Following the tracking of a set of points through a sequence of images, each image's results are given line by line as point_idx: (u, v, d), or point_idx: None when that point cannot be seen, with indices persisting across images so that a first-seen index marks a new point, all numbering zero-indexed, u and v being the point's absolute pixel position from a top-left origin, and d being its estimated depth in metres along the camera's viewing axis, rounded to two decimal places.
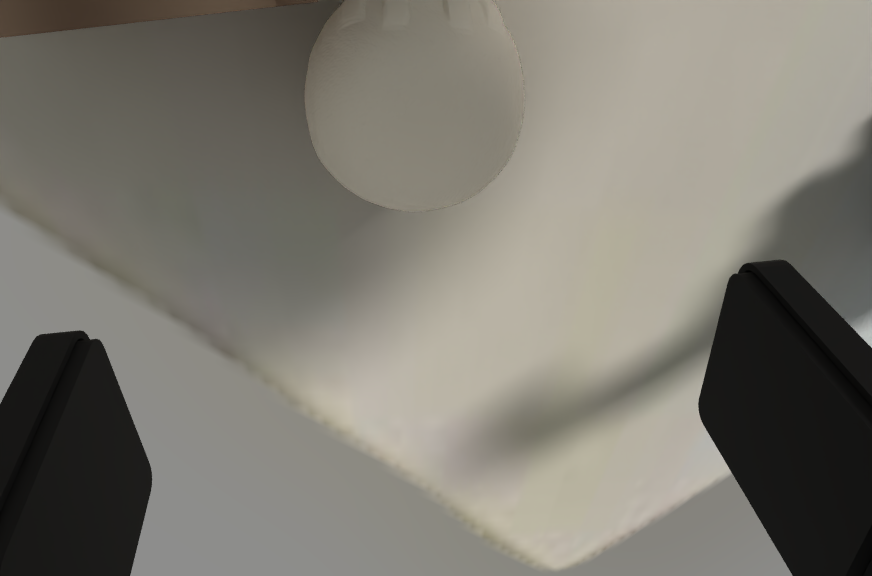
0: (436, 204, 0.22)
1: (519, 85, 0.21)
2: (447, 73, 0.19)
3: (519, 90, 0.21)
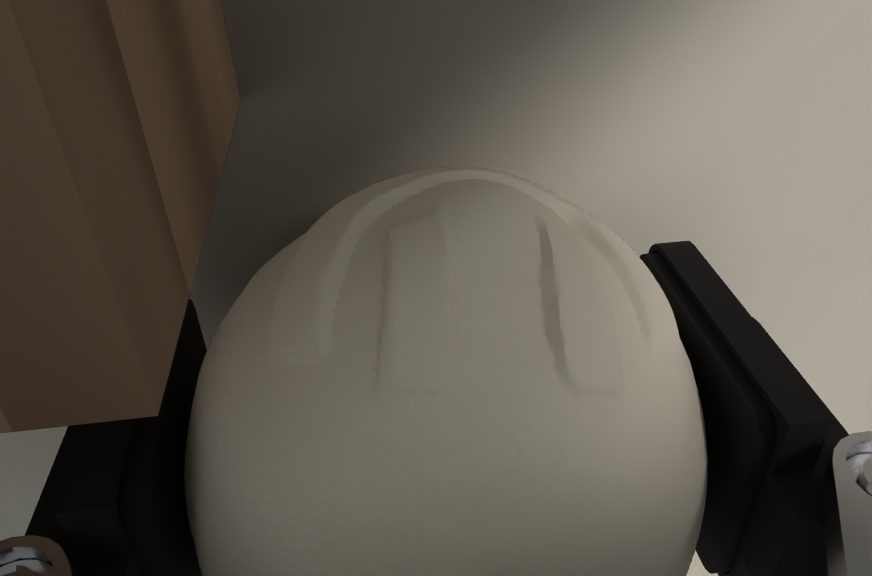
0: None
1: (706, 478, 0.09)
2: (557, 539, 0.07)
3: (705, 489, 0.09)
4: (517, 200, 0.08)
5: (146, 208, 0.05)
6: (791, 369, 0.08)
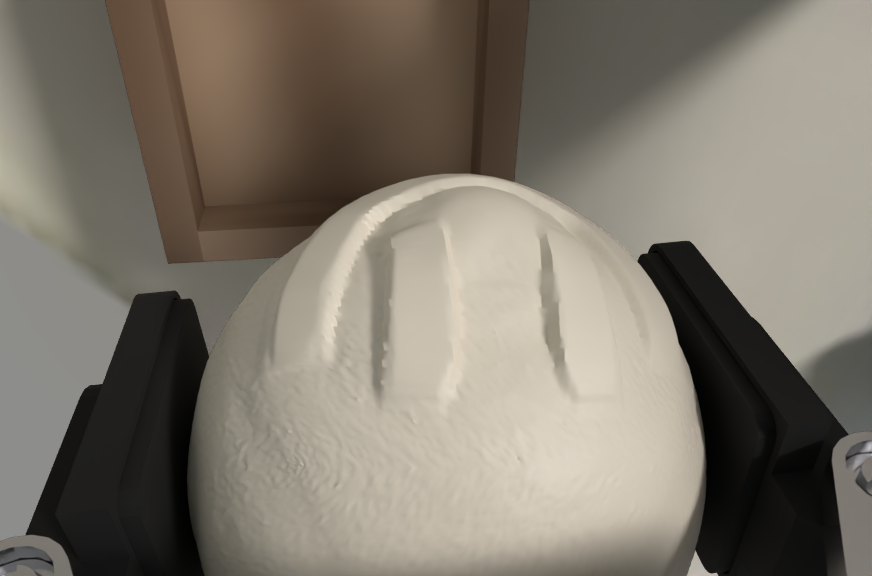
0: None
1: (705, 482, 0.09)
2: (558, 545, 0.07)
3: (704, 493, 0.09)
4: (517, 207, 0.08)
5: None
6: (791, 369, 0.08)
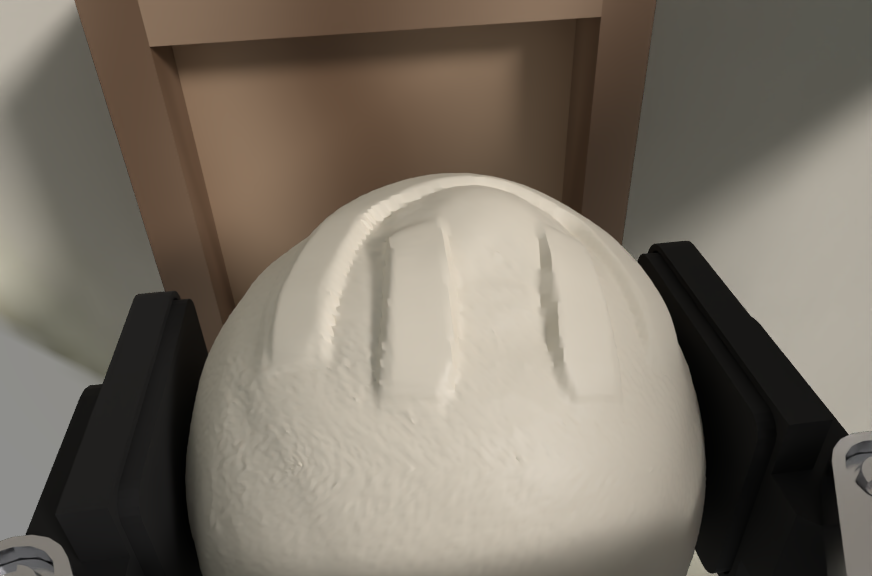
0: None
1: (704, 483, 0.09)
2: (556, 544, 0.07)
3: (704, 494, 0.09)
4: (516, 207, 0.08)
5: None
6: (790, 369, 0.08)
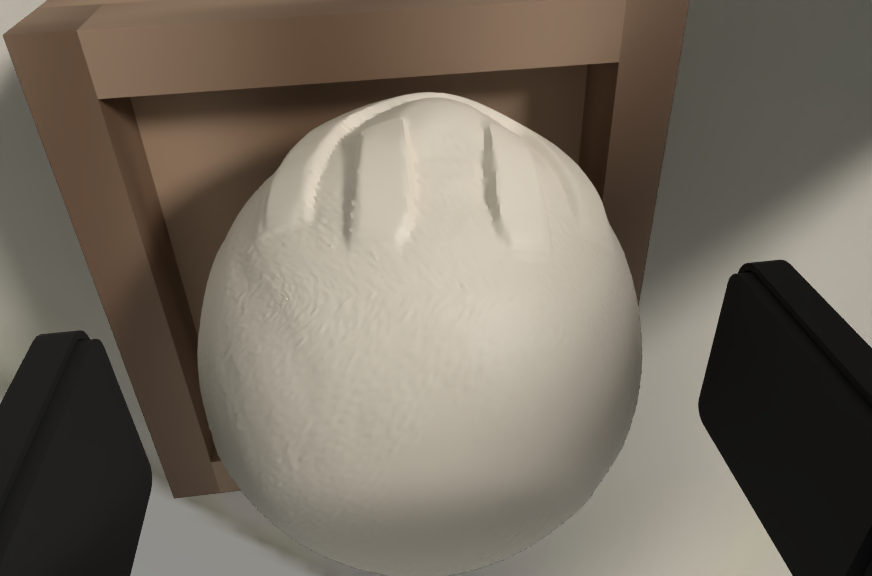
0: (460, 572, 0.11)
1: (638, 345, 0.10)
2: (495, 357, 0.08)
3: (638, 355, 0.10)
4: (467, 108, 0.10)
5: None
6: None
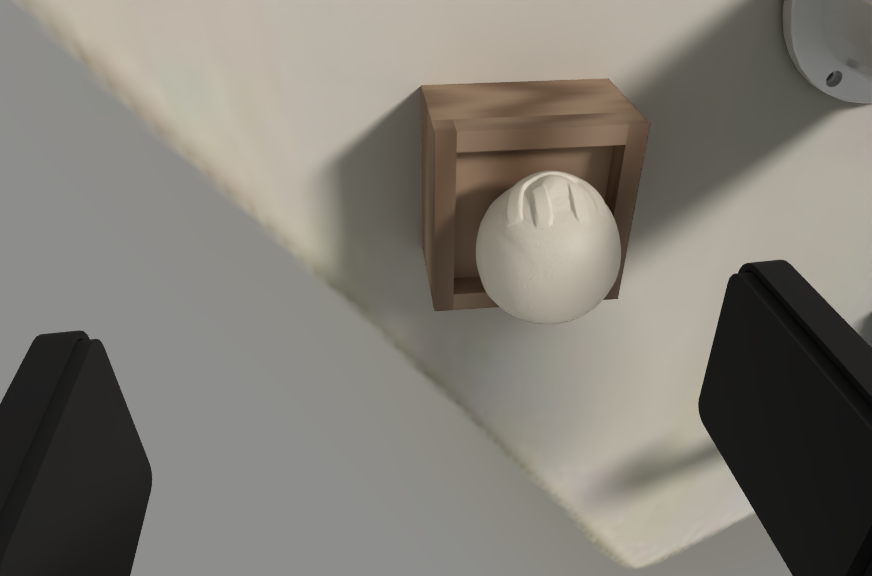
0: None
1: (619, 245, 0.33)
2: (578, 253, 0.31)
3: (619, 248, 0.33)
4: (561, 179, 0.32)
5: None
6: None
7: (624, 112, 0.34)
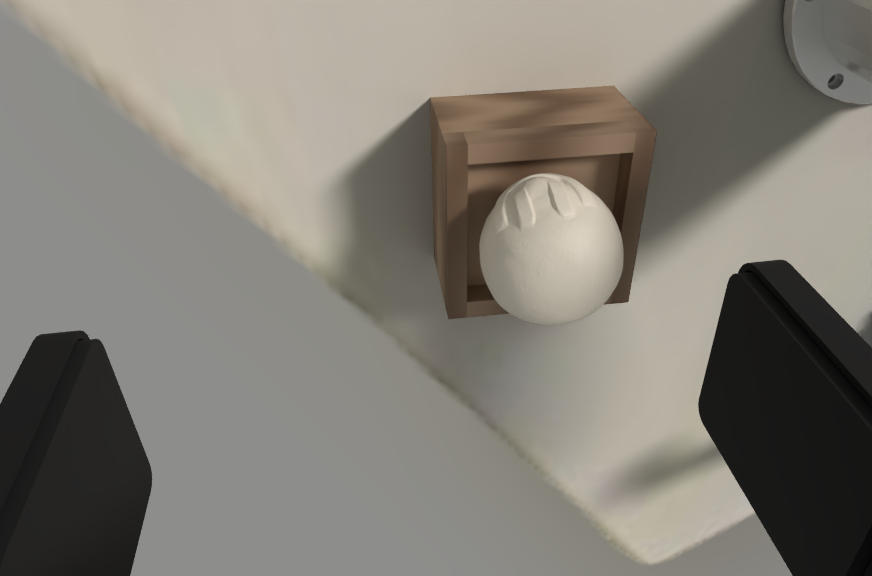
0: (581, 317, 0.33)
1: (614, 232, 0.32)
2: (566, 246, 0.31)
3: (614, 235, 0.32)
4: (541, 179, 0.32)
5: None
6: None
7: (631, 120, 0.35)
